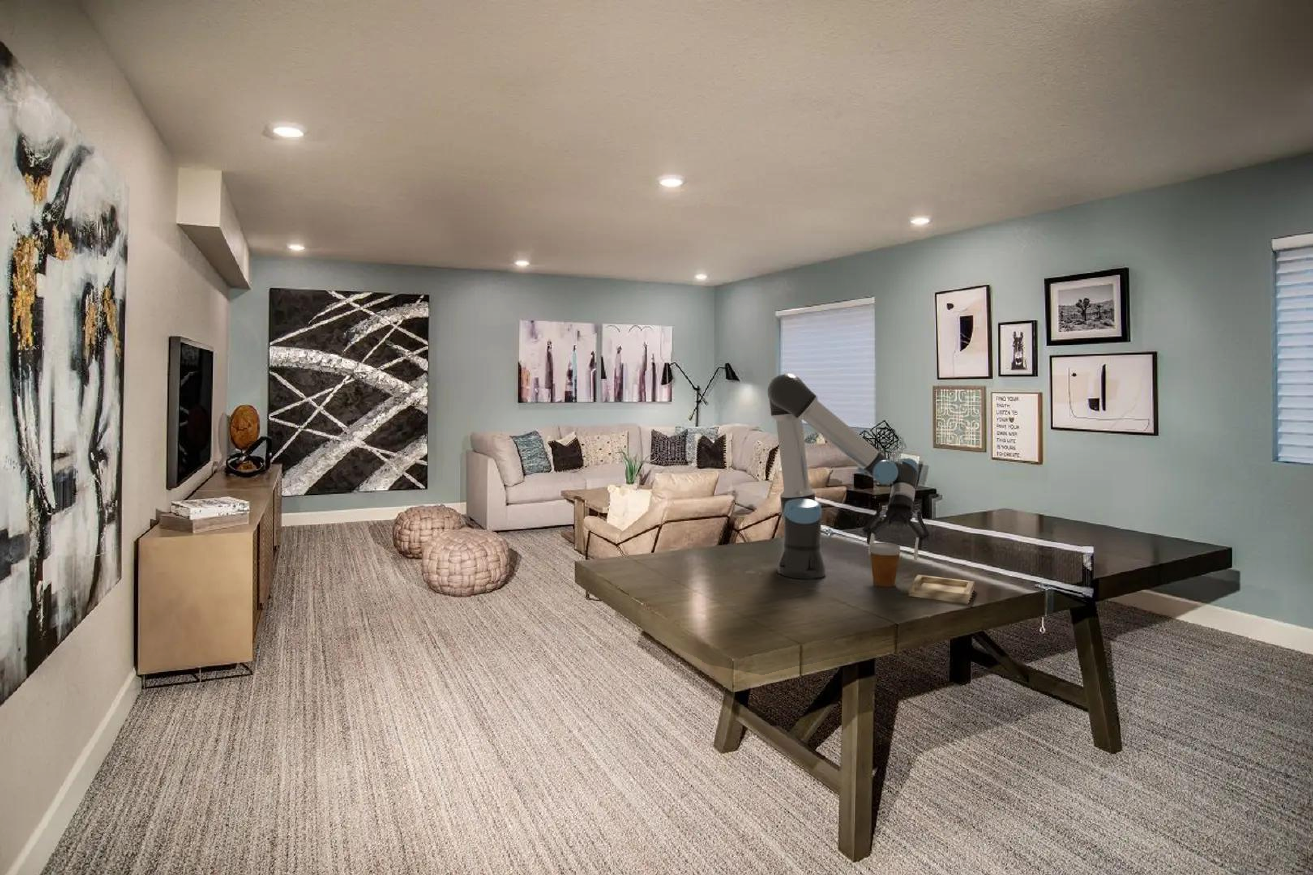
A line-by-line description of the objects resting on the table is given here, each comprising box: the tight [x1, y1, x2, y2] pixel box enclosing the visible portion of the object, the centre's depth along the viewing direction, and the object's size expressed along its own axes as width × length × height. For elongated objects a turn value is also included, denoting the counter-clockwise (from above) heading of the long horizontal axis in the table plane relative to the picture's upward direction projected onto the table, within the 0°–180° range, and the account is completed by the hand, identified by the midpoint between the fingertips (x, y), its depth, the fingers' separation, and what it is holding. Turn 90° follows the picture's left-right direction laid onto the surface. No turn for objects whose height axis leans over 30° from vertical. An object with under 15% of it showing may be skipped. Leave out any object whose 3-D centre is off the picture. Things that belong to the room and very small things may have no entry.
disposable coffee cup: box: [868, 542, 902, 587], centre depth 227 cm, size 10×10×12 cm
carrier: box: [908, 574, 975, 605], centre depth 218 cm, size 16×16×3 cm
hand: (892, 555), depth 229 cm, fingers open, 13 cm apart
